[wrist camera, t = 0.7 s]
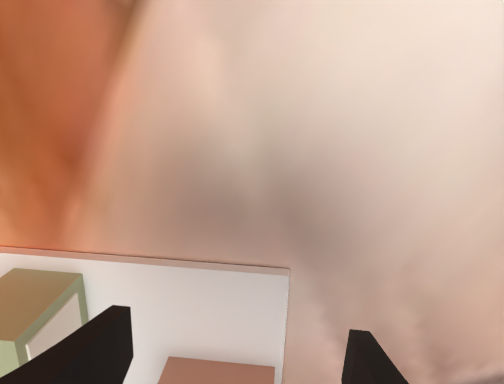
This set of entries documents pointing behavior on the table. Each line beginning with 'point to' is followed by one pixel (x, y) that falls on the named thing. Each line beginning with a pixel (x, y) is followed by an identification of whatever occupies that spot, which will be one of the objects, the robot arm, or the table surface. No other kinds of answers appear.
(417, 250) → the table surface
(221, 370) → the tea box rust
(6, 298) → the tea box olive
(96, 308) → the shelf board
